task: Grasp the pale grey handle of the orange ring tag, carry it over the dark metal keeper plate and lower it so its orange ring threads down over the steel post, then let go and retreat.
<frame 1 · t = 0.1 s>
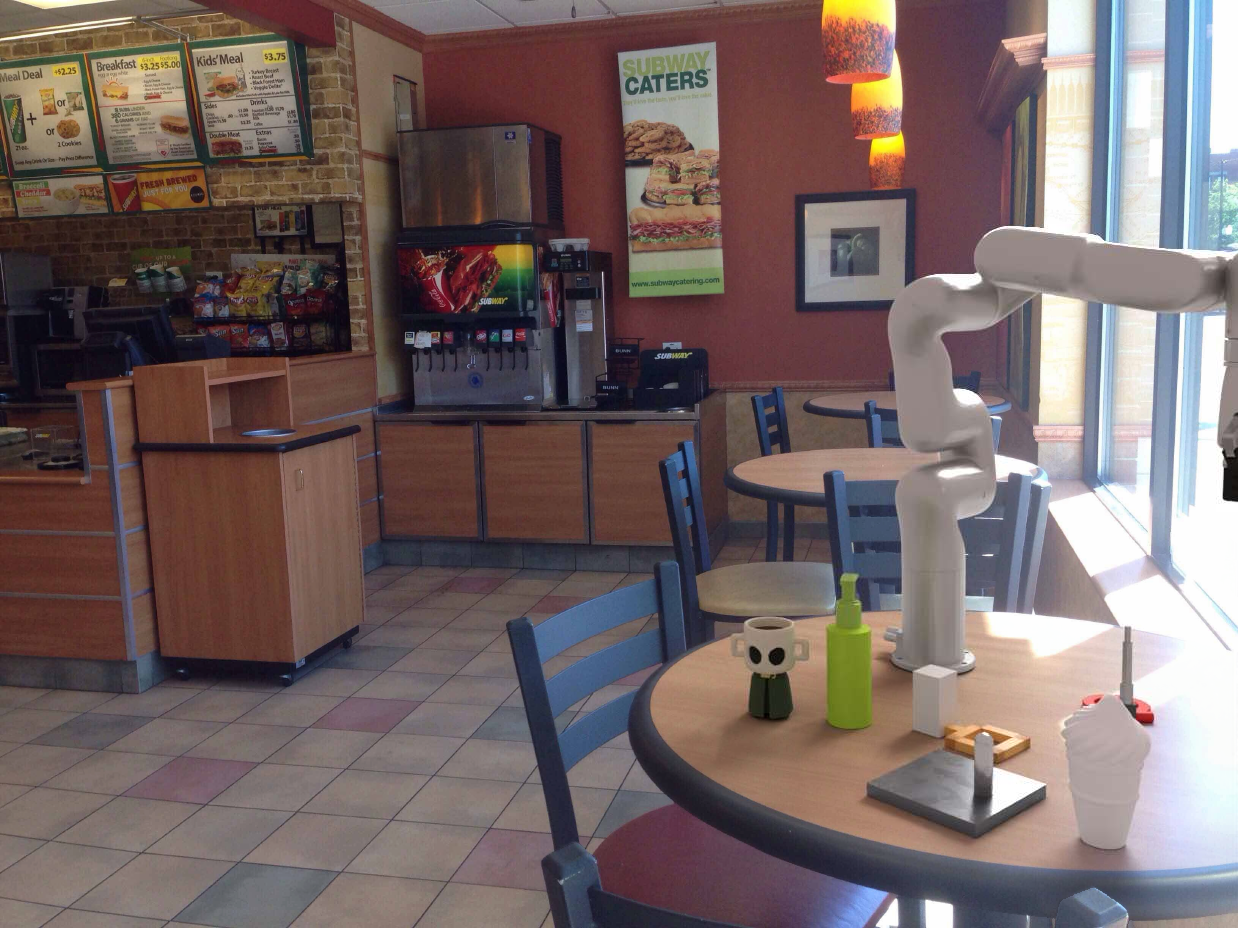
soap dispenser: (850, 720, 144), on the table
soft serve ice cream cone: (1102, 841, 109), on the table
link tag: (934, 729, 140), on the table
character mug: (770, 715, 148), on the table
tow hook: (1116, 712, 144), on the table
keeper plate: (955, 795, 120), on the table
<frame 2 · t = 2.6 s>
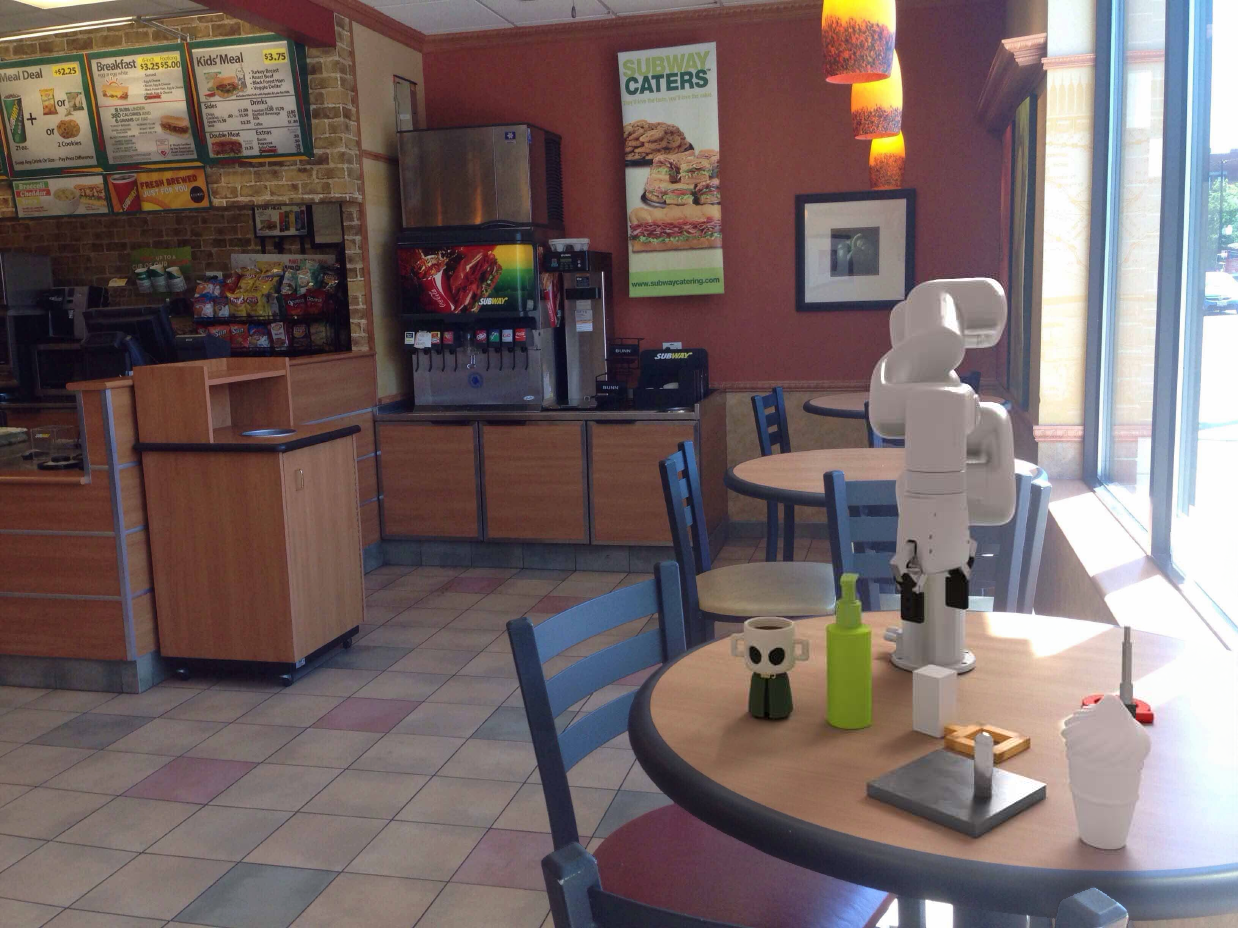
hand: (935, 614, 137), 16 cm above the table, fingers open, 9 cm apart
nothing on the table moved.
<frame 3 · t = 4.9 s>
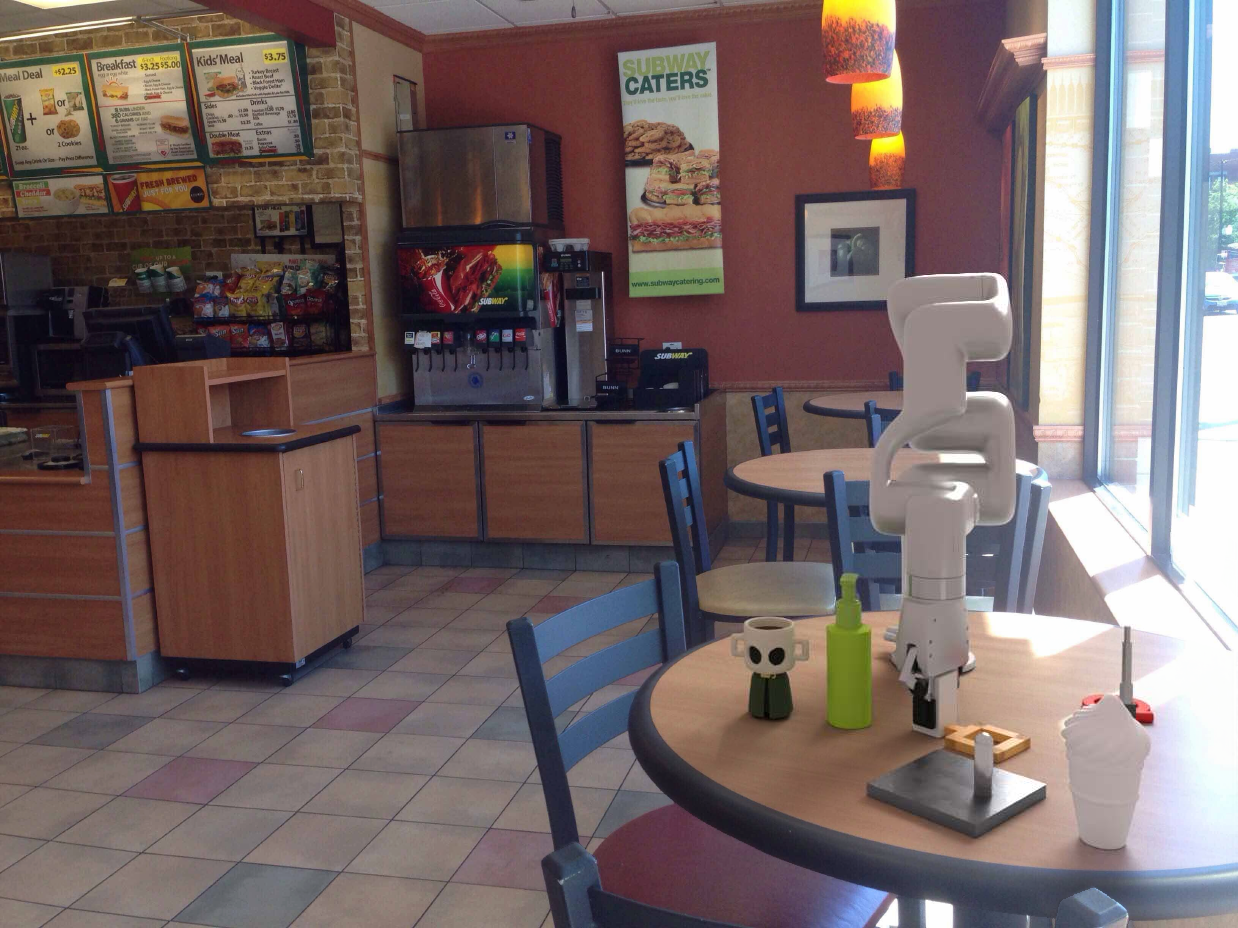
hand: (934, 720, 140), 1 cm above the table, fingers closed on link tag, 4 cm apart
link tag: (934, 729, 140), on the table, touching gripper
everything else where it was.
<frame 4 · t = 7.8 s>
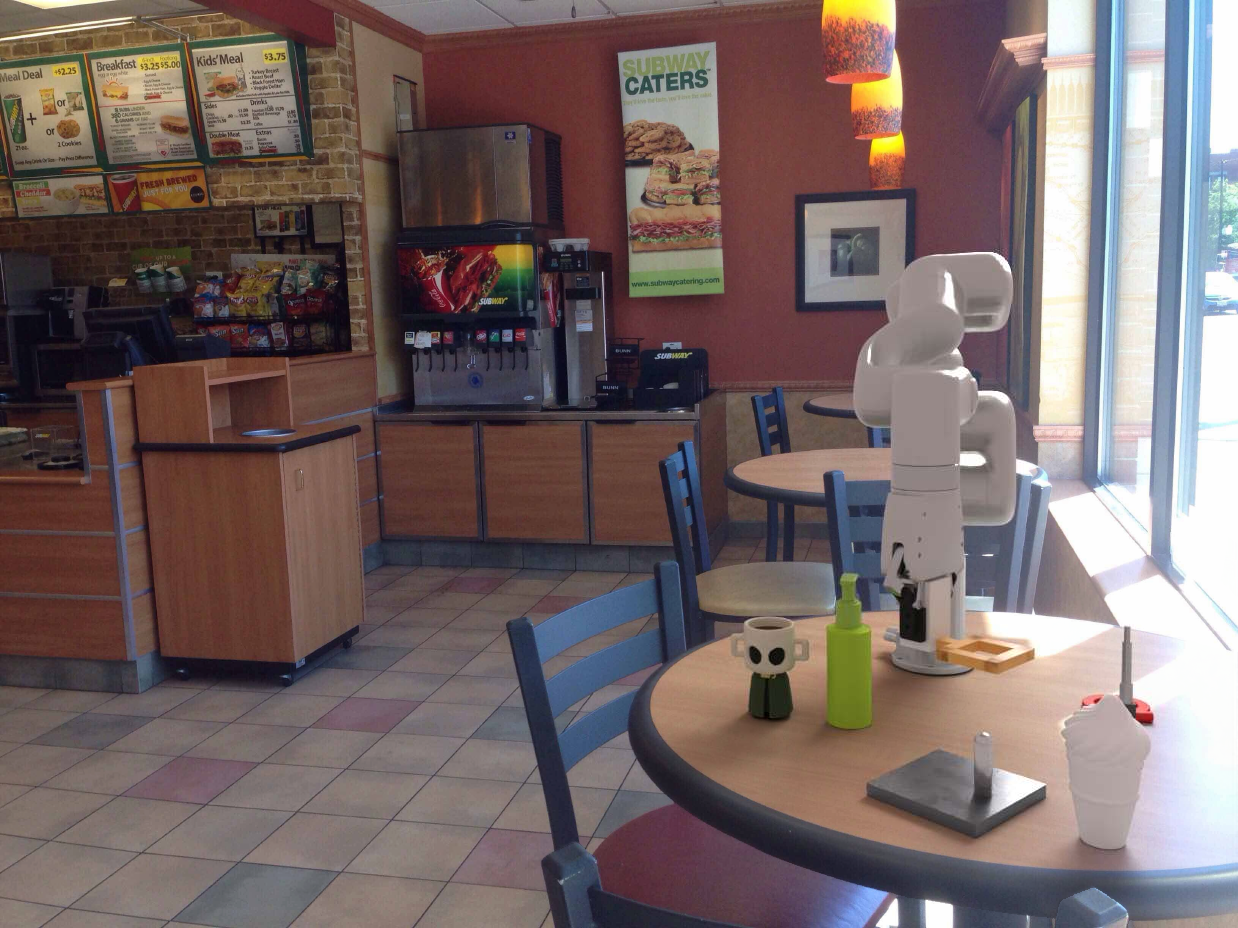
hand: (924, 634, 122), 18 cm above the table, fingers closed on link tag, 4 cm apart
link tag: (925, 644, 122), point 17 cm above the table, touching gripper
everything else where it was.
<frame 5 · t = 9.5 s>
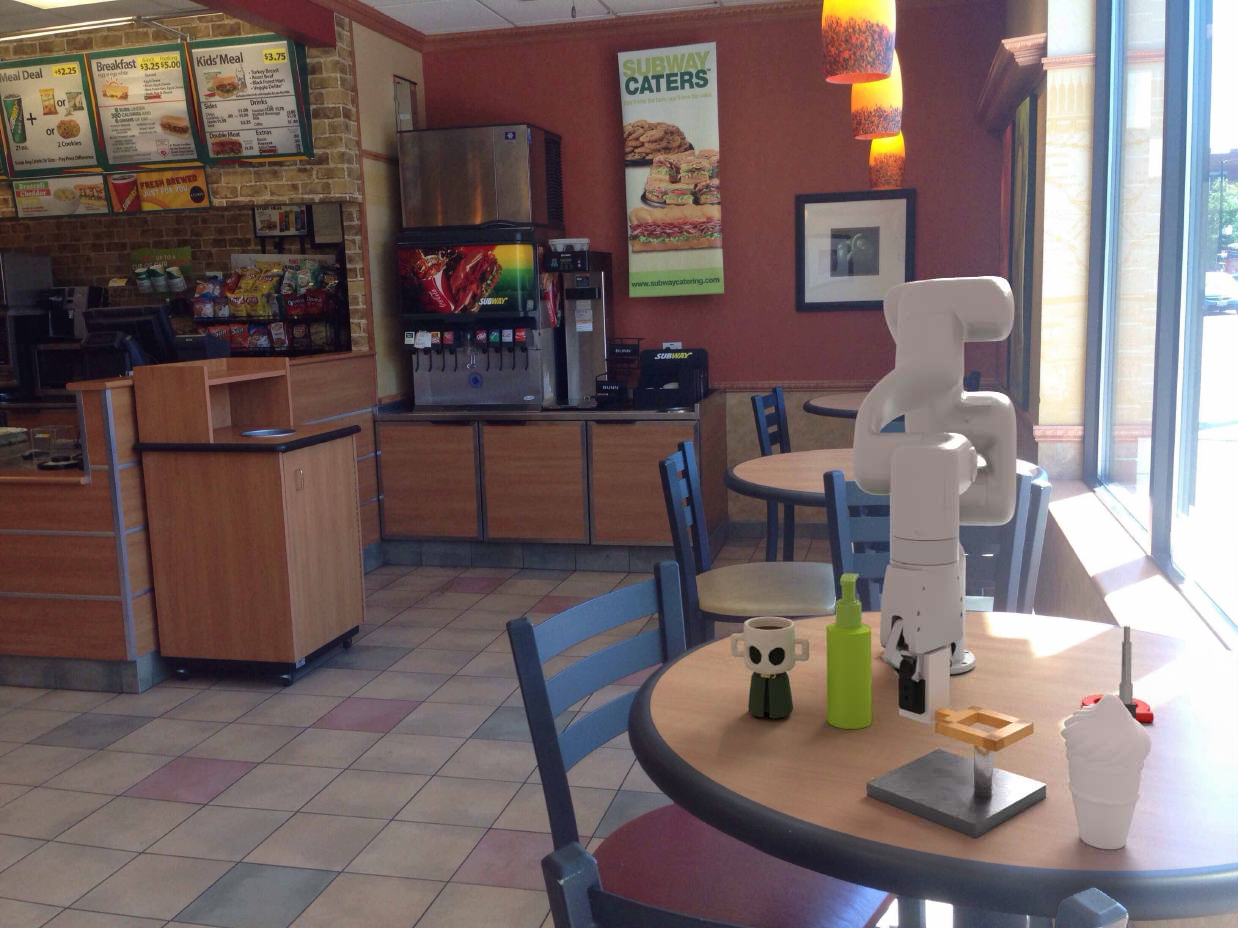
hand: (924, 704, 122), 10 cm above the table, fingers closed on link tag, 4 cm apart
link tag: (924, 714, 122), point 9 cm above the table, touching gripper
everything else where it was.
when the fingers open (4 cm above the table, at t = 10.9 s): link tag drops 1 cm, resting on keeper plate.
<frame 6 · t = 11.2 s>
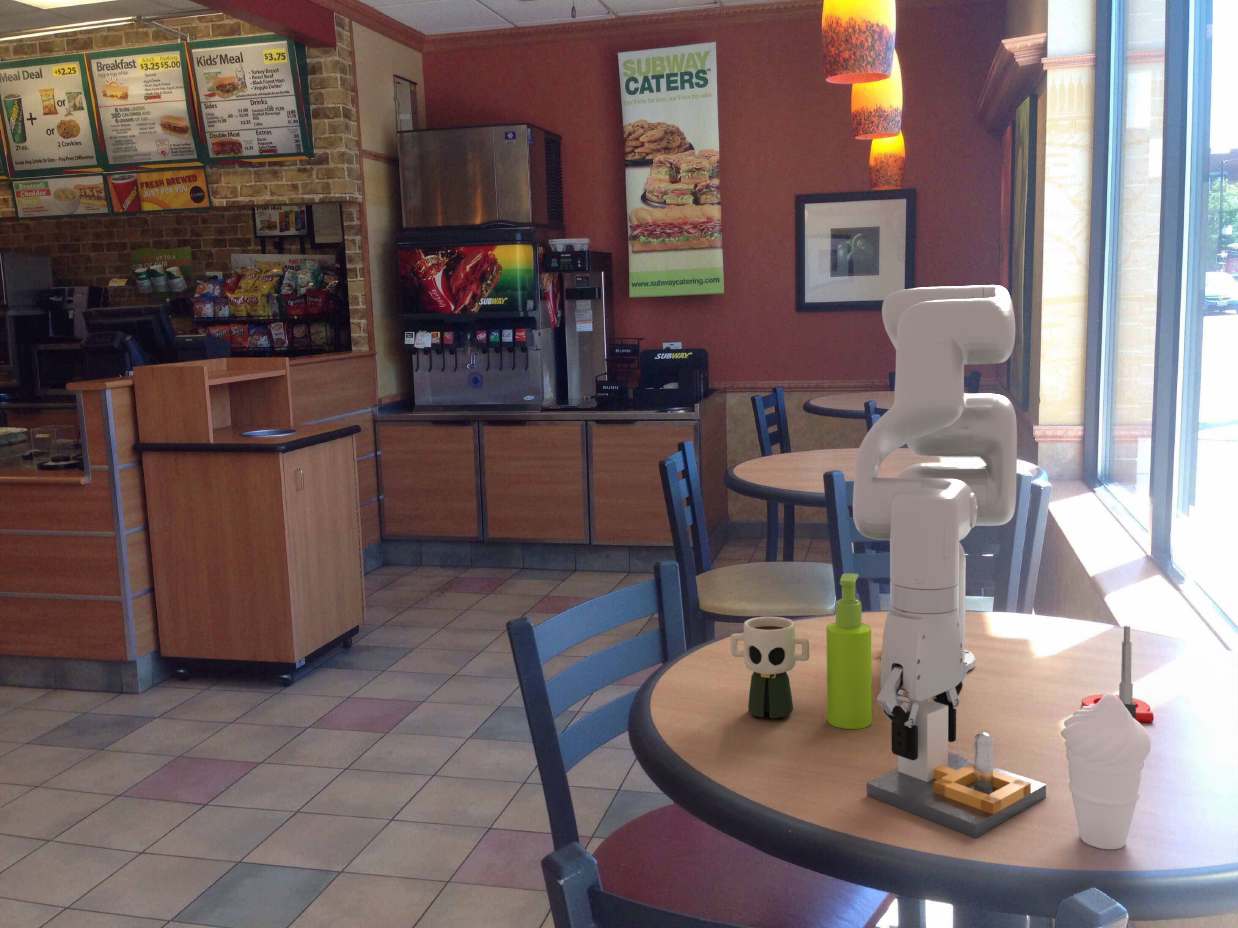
hand: (924, 745, 123), 5 cm above the table, fingers open, 6 cm apart
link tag: (923, 771, 124), point 1 cm above the table, touching keeper plate
everything else where it was.
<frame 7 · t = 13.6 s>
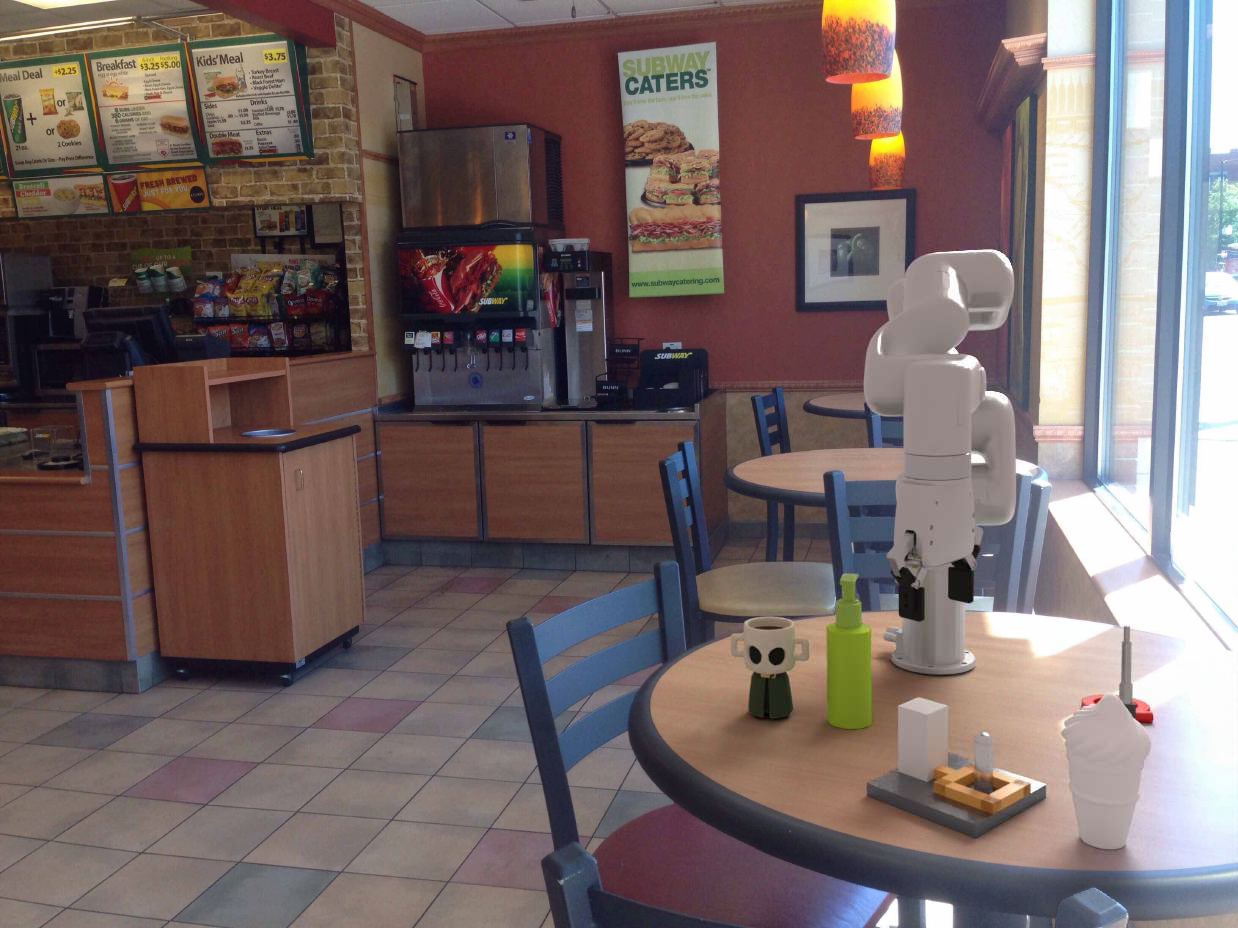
hand: (936, 609, 125), 20 cm above the table, fingers open, 9 cm apart
nothing on the table moved.
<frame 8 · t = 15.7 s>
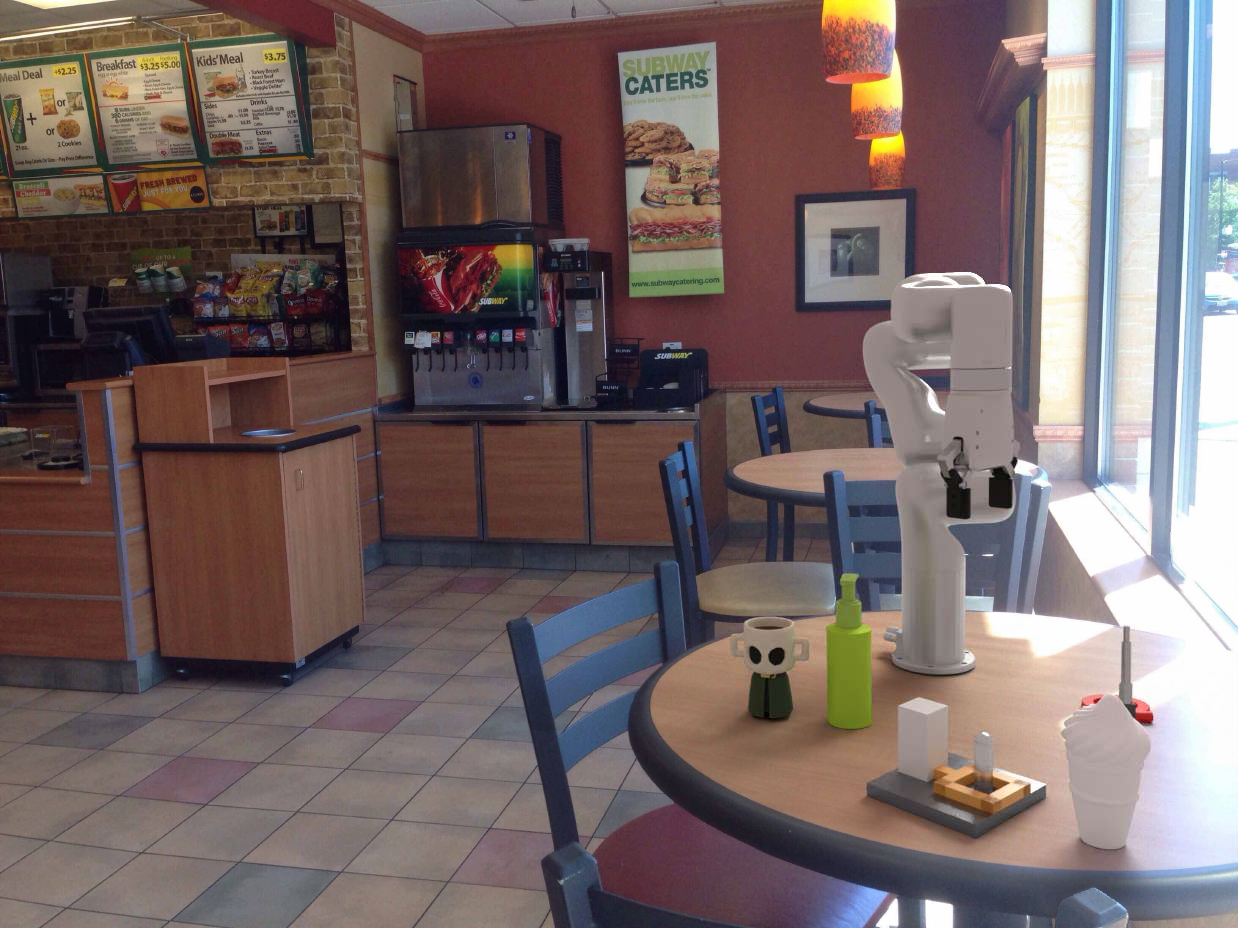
hand: (979, 512, 139), 28 cm above the table, fingers open, 9 cm apart
nothing on the table moved.
at the end: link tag 0.2 cm from the target spot on the keeper plate, point 1.5 cm above the keeper plate's base; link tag tilted 0°; the gripper is holding nothing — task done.
